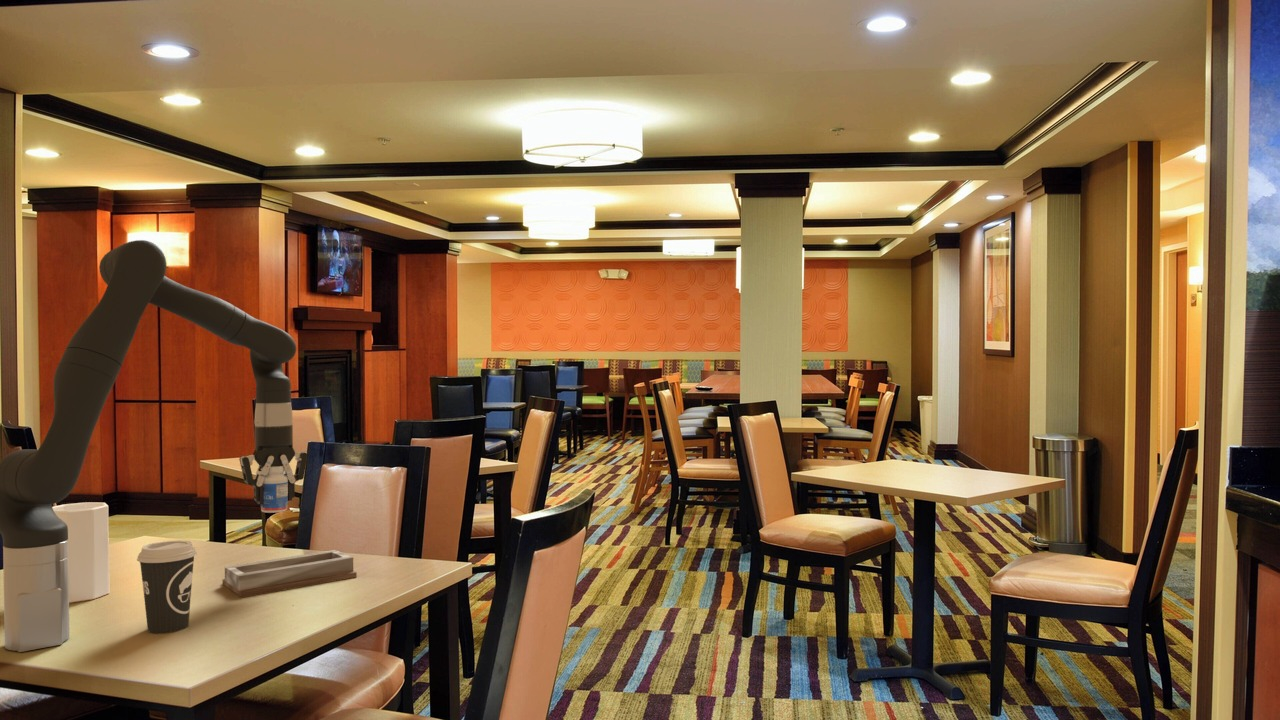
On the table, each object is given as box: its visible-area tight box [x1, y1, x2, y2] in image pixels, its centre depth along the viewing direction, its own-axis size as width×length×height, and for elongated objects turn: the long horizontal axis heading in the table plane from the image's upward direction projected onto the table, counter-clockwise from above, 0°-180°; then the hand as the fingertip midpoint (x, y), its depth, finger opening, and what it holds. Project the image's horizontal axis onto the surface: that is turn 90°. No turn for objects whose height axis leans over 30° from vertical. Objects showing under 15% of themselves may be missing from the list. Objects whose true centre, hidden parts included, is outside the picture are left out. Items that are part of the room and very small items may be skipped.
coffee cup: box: [136, 540, 198, 634], centre depth 158 cm, size 10×10×15 cm
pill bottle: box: [260, 466, 289, 514], centre depth 189 cm, size 6×5×10 cm
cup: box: [52, 501, 110, 604], centre depth 180 cm, size 11×11×18 cm
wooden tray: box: [222, 549, 358, 598], centre depth 191 cm, size 14×24×4 cm, turn 130°
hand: (274, 501), depth 189 cm, fingers closed on pill bottle, 5 cm apart
